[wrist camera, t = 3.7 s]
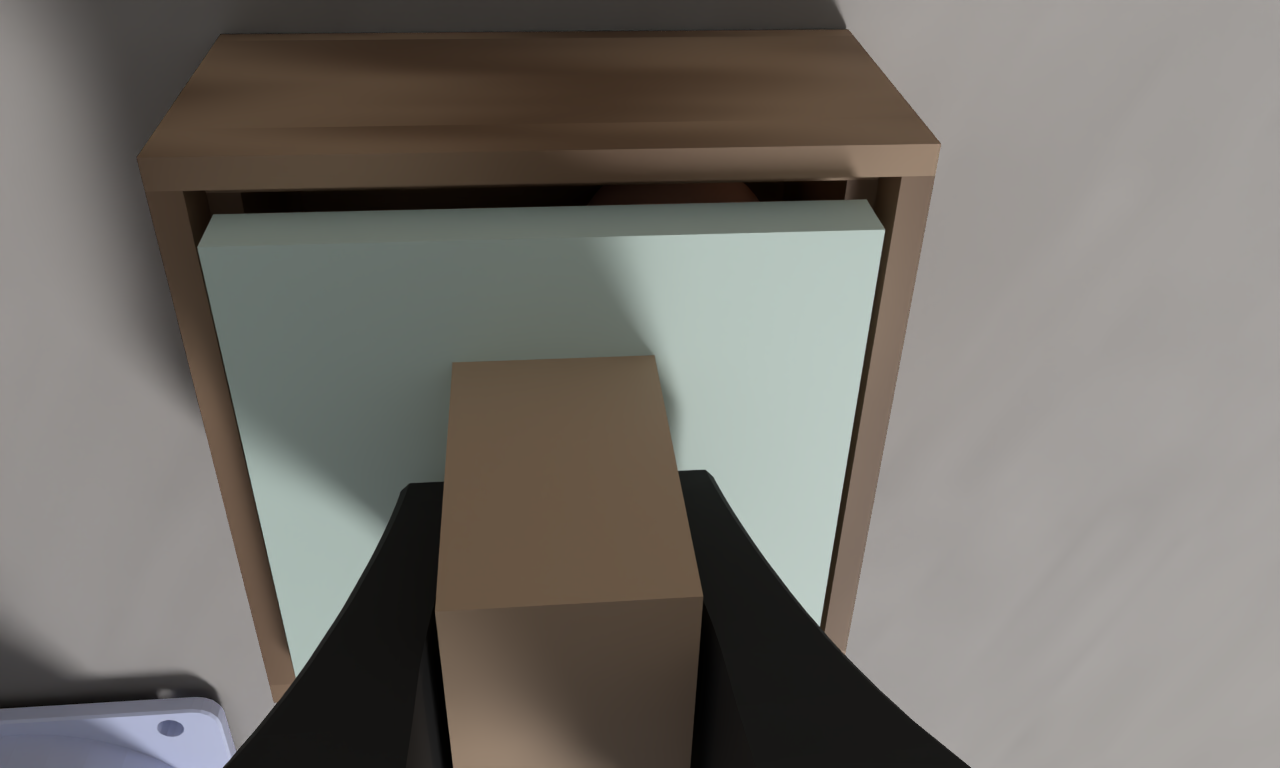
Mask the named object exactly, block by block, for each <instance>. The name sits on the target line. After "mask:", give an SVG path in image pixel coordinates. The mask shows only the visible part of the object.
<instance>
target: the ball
mask: <svg viewBox="0 0 1280 768" xmlns="http://www.w3.org/2000/svg"><path fill="white" fill-rule="evenodd" d="M731 202H759V200H758V198H757V197H756V196H755V194H754V193H753V192H752V191H751V190H750V189H749V187H748V186H746V185H745V184H744V183H743V182H730V183H680V184H631V185H603V186H602V187H601V188H600V189H599V190H598V191H597V192H596V194H595V195H594V196H593V198H592V199H591V200H590V202H589V203H588V205H587V206H600V205H644V204H687V203H731Z"/></svg>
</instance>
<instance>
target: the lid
mask: <svg viewBox="0 0 1280 768" xmlns="http://www.w3.org/2000/svg"><path fill="white" fill-rule="evenodd" d="M884 234H885V229H884V227H883V225H882V224H881V222H880V220H879V219H878V217H877V216H876V214H875V212H874V211H873V209H872V208H871V206H870V204H869V203H868V201H867V199H862V200H818V201H775V202H731V203H687V204H644V205H600V206H556V207H513V208H469V209H425V210H382V211H338V212H295V213H251V214H213V216H212V218H211V220H210V222H209V224H208V226H207V228H206V230H205V232H204V234H203V236H202V239H201V241H200V243H199V245H198V247H197V248H198V253H199V257H200V261H201V266H202V270H203V275H204V279H205V283H206V288H207V292H208V296H209V301H210V305H211V309H212V314H213V318H214V323H215V327H216V331H217V336H218V340H219V344H220V349H221V353H222V358H223V362H224V366H225V371H226V375H227V379H228V384H229V388H230V393H231V397H232V401H233V406H234V410H235V414H236V419H237V423H238V427H239V432H240V436H241V441H242V445H243V449H244V454H245V458H246V462H247V467H248V471H249V476H250V480H251V484H252V489H253V493H254V497H255V502H256V506H257V510H258V515H259V519H260V524H261V528H262V532H263V537H264V541H265V545H266V550H267V554H268V559H269V563H270V567H271V572H272V576H273V580H274V585H275V589H276V593H277V598H278V602H279V607H280V611H281V615H282V620H283V624H284V628H285V633H286V637H287V642H288V646H289V650H290V655H291V659H292V663H293V668H294V672H295V676H296V677H297V676H298V674H299V673H300V672H301V670H302V669H303V667H304V666H305V665H306V663H307V662H308V660H309V659H310V657H311V656H312V654H313V653H314V651H315V650H316V648H317V647H318V645H319V643H320V642H321V640H322V639H323V637H324V636H325V634H326V633H327V631H328V630H329V628H330V627H331V625H332V624H333V622H334V621H335V619H336V618H337V616H338V614H339V613H340V611H341V610H342V608H343V606H344V605H345V603H346V601H347V599H348V598H349V596H350V594H351V592H352V591H353V589H354V587H355V585H356V584H357V582H358V580H359V578H360V577H361V575H362V573H363V571H364V569H365V568H366V566H367V564H368V562H369V560H370V558H371V557H372V555H373V553H374V551H375V549H376V547H377V545H378V543H379V541H380V539H381V537H382V535H383V533H384V531H385V528H386V526H387V524H388V522H389V520H390V517H391V515H392V513H393V510H394V508H395V506H396V503H397V500H398V497H399V495H400V492H401V490H402V489H404V488H405V487H406V486H407V485H408V484H409V483H422V482H444V491H443V505H442V519H441V534H440V548H439V562H438V576H437V591H436V605H435V616H436V624H437V633H438V641H439V650H440V659H441V667H442V676H443V684H444V693H445V701H446V710H447V718H448V727H449V736H450V744H451V753H452V761H453V768H690V763H691V750H692V737H693V724H694V711H695V698H696V685H697V672H698V659H699V646H700V633H701V620H702V607H703V592H702V587H701V582H700V577H699V572H698V568H697V563H696V558H695V553H694V548H693V543H692V538H691V533H690V528H689V523H688V518H687V513H686V508H685V503H684V498H683V493H682V488H681V483H680V479H679V474H678V471H684V470H706V471H708V472H709V473H710V474H711V475H712V476H713V477H714V479H715V481H716V483H717V484H718V486H719V488H720V490H721V491H722V493H723V495H724V497H725V498H726V500H727V502H728V503H729V505H730V507H731V508H732V510H733V511H734V513H735V515H736V516H737V518H738V519H739V521H740V522H741V524H742V525H743V527H744V528H745V530H746V531H747V533H748V534H749V536H750V537H751V539H752V540H753V542H754V543H755V545H756V546H757V547H758V549H759V550H760V552H761V553H762V554H763V556H764V557H765V559H766V560H767V561H768V563H769V564H770V565H771V567H772V568H773V569H774V571H775V572H776V573H777V575H778V576H779V577H780V578H781V580H782V581H783V582H784V584H785V585H786V586H787V588H788V589H789V590H790V592H791V593H792V594H793V595H794V597H795V598H796V599H797V600H798V602H799V603H800V604H801V605H802V607H803V608H804V609H805V610H806V611H807V613H808V614H809V615H810V616H811V617H812V618H813V620H814V621H815V622H816V623H817V624H818V625H819V627H820V623H821V617H822V611H823V605H824V599H825V593H826V586H827V580H828V574H829V568H830V562H831V556H832V550H833V544H834V538H835V532H836V526H837V520H838V514H839V507H840V501H841V495H842V489H843V483H844V477H845V471H846V465H847V459H848V453H849V447H850V441H851V434H852V428H853V422H854V416H855V410H856V404H857V398H858V392H859V386H860V380H861V374H862V368H863V362H864V355H865V349H866V343H867V337H868V331H869V325H870V319H871V313H872V307H873V301H874V295H875V289H876V282H877V276H878V270H879V264H880V258H881V252H882V246H883V240H884Z"/></svg>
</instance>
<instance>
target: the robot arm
mask: <svg viewBox="0 0 1280 768" xmlns="http://www.w3.org/2000/svg"><path fill="white" fill-rule="evenodd" d="M678 474H679V479H680V483H681V488H682V493H683V498H684V503H685V508H686V513H687V518H688V523H689V528H690V533H691V538H692V543H693V548H694V553H695V558H696V563H697V568H698V572H699V577H700V582H701V587H702V592H703V607H702V620H701V633H700V646H699V659H698V672H697V685H696V698H695V711H694V724H693V737H692V750H691V763H690V768H971V767H970V766H968V765H967V764H966V763H965V762H963V761H962V760H961V759H960V758H958V757H957V756H956V755H955V754H954V753H952V752H951V751H950V750H949V749H947V748H946V747H945V746H944V745H942V744H941V743H940V742H939V741H938V740H936V739H935V738H934V737H933V736H931V735H930V734H929V733H928V732H926V731H925V730H924V729H923V728H921V727H920V726H919V725H918V724H917V723H915V722H914V721H913V720H912V719H911V718H910V717H909V716H907V715H906V714H905V713H904V712H903V711H902V710H901V709H900V708H899V707H898V706H897V705H895V704H894V703H893V702H892V701H891V700H890V699H889V698H888V697H887V696H886V695H885V694H884V693H882V692H881V691H880V690H879V689H878V688H877V687H876V686H875V685H874V684H873V683H872V682H871V681H870V680H869V679H868V678H867V677H866V676H865V675H864V674H863V673H862V672H861V671H860V670H859V669H858V668H857V667H856V666H855V665H854V664H853V663H852V662H851V661H850V660H849V659H848V658H847V657H846V655H845V654H844V653H843V652H842V651H841V650H840V649H839V648H838V647H837V646H836V645H835V644H834V642H833V641H832V640H831V639H830V638H829V637H828V636H827V635H826V634H825V632H824V631H823V630H822V629H821V628H820V627H819V625H818V624H817V623H816V622H815V621H814V620H813V618H812V617H811V616H810V615H809V614H808V613H807V611H806V610H805V609H804V608H803V607H802V605H801V604H800V603H799V602H798V600H797V599H796V598H795V597H794V595H793V594H792V593H791V592H790V590H789V589H788V588H787V586H786V585H785V584H784V582H783V581H782V580H781V578H780V577H779V576H778V575H777V573H776V572H775V571H774V569H773V568H772V567H771V565H770V564H769V563H768V561H767V560H766V559H765V557H764V556H763V554H762V553H761V552H760V550H759V549H758V547H757V546H756V545H755V543H754V542H753V540H752V539H751V537H750V536H749V534H748V533H747V531H746V530H745V528H744V527H743V525H742V524H741V522H740V521H739V519H738V518H737V516H736V515H735V513H734V511H733V510H732V508H731V507H730V505H729V503H728V502H727V500H726V498H725V497H724V495H723V493H722V491H721V490H720V488H719V486H718V484H717V483H716V481H715V479H714V477H713V476H712V475H711V474H710V473H709V472H708V471H706V470H684V471H678ZM443 491H444V482H422V483H409V484H408V485H407V486H406V487H405V488H404V489H402V490H401V492H400V495H399V497H398V500H397V503H396V506H395V508H394V510H393V513H392V515H391V517H390V520H389V522H388V524H387V526H386V528H385V531H384V533H383V535H382V537H381V539H380V541H379V543H378V545H377V547H376V549H375V551H374V553H373V555H372V557H371V558H370V560H369V562H368V564H367V566H366V568H365V569H364V571H363V573H362V575H361V577H360V578H359V580H358V582H357V584H356V585H355V587H354V589H353V591H352V592H351V594H350V596H349V598H348V599H347V601H346V603H345V605H344V606H343V608H342V610H341V611H340V613H339V614H338V616H337V618H336V619H335V621H334V622H333V624H332V625H331V627H330V628H329V630H328V631H327V633H326V634H325V636H324V637H323V639H322V640H321V642H320V643H319V645H318V647H317V648H316V650H315V651H314V653H313V654H312V656H311V657H310V659H309V660H308V662H307V663H306V665H305V666H304V667H303V669H302V670H301V672H300V673H299V674H298V676H297V677H296V678H295V680H294V681H293V683H292V684H291V685H290V687H289V688H288V689H287V691H286V692H285V693H284V695H283V696H282V697H281V699H280V700H279V701H278V702H277V704H276V705H275V706H274V707H273V709H272V710H271V711H270V713H269V714H268V715H267V716H266V718H265V719H264V720H263V721H262V723H261V724H260V725H259V726H258V727H257V729H256V730H255V731H254V732H253V733H252V735H251V736H250V737H249V738H248V739H247V740H246V741H245V743H244V744H243V745H242V746H241V747H240V748H239V749H238V751H237V752H236V749H235V746H234V743H233V739H232V736H231V732H230V729H229V725H228V722H227V719H226V715H225V712H224V710H223V708H222V707H221V705H219V704H218V703H216V702H215V701H214V700H211V699H208V698H205V697H185V698H169V699H152V700H136V701H119V702H103V703H86V704H70V705H54V706H37V707H21V708H4V709H0V768H453V761H452V753H451V744H450V736H449V727H448V718H447V710H446V701H445V693H444V684H443V676H442V667H441V659H440V650H439V641H438V633H437V624H436V616H435V605H436V591H437V576H438V562H439V548H440V534H441V519H442V505H443Z"/></svg>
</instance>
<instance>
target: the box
mask: <svg viewBox="0 0 1280 768" xmlns="http://www.w3.org/2000/svg"><path fill="white" fill-rule="evenodd" d="M940 146H941V143H940V142H939V141H938V140H937V138H936V137H935V136H934V135H933V133H932V132H931V131H930V130H929V128H928V127H927V126H926V125H925V123H924V122H923V121H922V120H921V119H920V117H919V116H918V115H917V114H916V112H915V111H914V110H913V109H912V107H911V106H910V105H909V104H908V102H907V101H906V100H905V99H904V98H903V96H902V95H901V94H900V93H899V91H898V90H897V89H896V88H895V86H894V85H893V84H892V83H891V82H890V80H889V79H888V78H887V77H886V75H885V74H884V73H883V72H882V70H881V69H880V68H879V67H878V65H877V64H876V63H875V62H874V61H873V59H872V58H871V57H870V56H869V54H868V53H867V52H866V51H865V49H864V48H863V47H862V46H861V45H860V43H859V42H858V41H857V40H856V38H855V37H854V36H853V35H852V33H851V32H850V31H849V30H848V29H841V30H706V31H571V32H436V33H301V34H220V36H219V37H218V39H217V40H216V42H215V43H214V45H213V46H212V47H211V49H210V50H209V52H208V53H207V55H206V56H205V58H204V59H203V61H202V62H201V64H200V65H199V67H198V68H197V69H196V71H195V72H194V74H193V75H192V77H191V78H190V80H189V81H188V83H187V84H186V86H185V87H184V89H183V90H182V92H181V93H180V94H179V96H178V97H177V99H176V100H175V102H174V103H173V105H172V106H171V108H170V109H169V111H168V112H167V114H166V115H165V117H164V118H163V119H162V121H161V122H160V124H159V125H158V127H157V128H156V130H155V131H154V133H153V134H152V136H151V137H150V139H149V140H148V142H147V143H146V144H145V146H144V147H143V149H142V150H141V152H140V153H139V155H138V156H137V162H138V166H139V170H140V174H141V178H142V182H143V186H144V190H145V194H146V197H147V201H148V205H149V209H150V213H151V217H152V221H153V225H154V229H155V233H156V237H157V241H158V245H159V249H160V253H161V257H162V261H163V265H164V269H165V273H166V277H167V281H168V285H169V289H170V293H171V297H172V300H173V304H174V308H175V312H176V316H177V320H178V324H179V328H180V332H181V336H182V340H183V344H184V348H185V352H186V356H187V360H188V364H189V368H190V372H191V376H192V380H193V384H194V388H195V392H196V396H197V399H198V403H199V407H200V411H201V415H202V419H203V423H204V427H205V431H206V435H207V439H208V443H209V447H210V451H211V455H212V459H213V463H214V467H215V471H216V475H217V479H218V483H219V487H220V491H221V495H222V499H223V502H224V506H225V510H226V514H227V518H228V522H229V526H230V530H231V534H232V538H233V542H234V546H235V550H236V554H237V558H238V562H239V566H240V570H241V574H242V578H243V582H244V586H245V590H246V594H247V598H248V601H249V605H250V609H251V613H252V617H253V621H254V625H255V629H256V633H257V637H258V641H259V645H260V649H261V653H262V657H263V661H264V665H265V669H266V673H267V677H268V681H269V685H270V689H271V693H272V697H273V701H274V703H276V702H278V701H279V700H280V699H281V697H282V696H283V695H284V693H285V692H286V691H287V689H288V688H289V687H290V685H291V684H292V683H293V681H294V680H295V678H296V676H295V672H294V668H293V663H292V659H291V655H290V650H289V646H288V642H287V637H286V633H285V628H284V624H283V620H282V615H281V611H280V607H279V602H278V598H277V593H276V589H275V585H274V580H273V576H272V572H271V567H270V563H269V559H268V554H267V550H266V545H265V541H264V537H263V532H262V528H261V524H260V519H259V515H258V510H257V506H256V502H255V497H254V493H253V489H252V484H251V480H250V476H249V471H248V467H247V462H246V458H245V454H244V449H243V445H242V441H241V436H240V432H239V427H238V423H237V419H236V414H235V410H234V406H233V401H232V397H231V393H230V388H229V384H228V379H227V375H226V371H225V366H224V362H223V358H222V353H221V349H220V344H219V340H218V336H217V331H216V327H215V323H214V318H213V314H212V309H211V305H210V301H209V296H208V292H207V288H206V283H205V279H204V275H203V270H202V266H201V261H200V257H199V253H198V248H197V247H198V245H199V243H200V241H201V239H202V236H203V234H204V232H205V230H206V228H207V226H208V224H209V222H210V220H211V218H212V216H213V214H251V213H295V212H338V211H382V210H425V209H469V208H513V207H556V206H587V205H588V203H589V202H590V200H591V199H592V198H593V196H594V195H595V194H596V192H597V191H598V190H599V189H600V188H601V187H602V186H603V185H631V184H680V183H730V182H743V183H744V184H745V185H746V186H748V187H749V189H750V190H751V191H752V192H753V193H754V194H755V196H756V197H757V198H758V200H759V202H775V201H818V200H862V199H867V201H868V203H869V204H870V206H871V208H872V209H873V211H874V212H875V214H876V216H877V217H878V219H879V220H880V222H881V224H882V225H883V227H884V229H885V234H884V240H883V246H882V252H881V258H880V264H879V270H878V276H877V282H876V289H875V295H874V301H873V307H872V313H871V319H870V325H869V331H868V337H867V343H866V349H865V355H864V362H863V368H862V374H861V380H860V386H859V392H858V398H857V404H856V410H855V416H854V422H853V428H852V434H851V441H850V447H849V453H848V459H847V465H846V471H845V477H844V483H843V489H842V495H841V501H840V507H839V514H838V520H837V526H836V532H835V538H834V544H833V550H832V556H831V562H830V568H829V574H828V580H827V586H826V593H825V599H824V605H823V611H822V617H821V623H820V628H821V629H822V630H823V631H824V632H825V634H826V635H827V636H828V637H829V638H830V639H831V640H832V641H833V642H834V644H835V645H836V646H837V647H838V648H839V649H840V650H841V651H842V652H843V653H844V654H845V652H846V647H847V641H848V636H849V631H850V625H851V620H852V615H853V610H854V604H855V599H856V594H857V588H858V583H859V578H860V572H861V567H862V562H863V556H864V551H865V546H866V540H867V535H868V530H869V524H870V519H871V514H872V508H873V503H874V498H875V492H876V487H877V482H878V476H879V471H880V466H881V460H882V455H883V450H884V445H885V439H886V434H887V429H888V423H889V418H890V413H891V407H892V402H893V397H894V391H895V386H896V381H897V375H898V370H899V365H900V359H901V354H902V349H903V343H904V338H905V333H906V327H907V322H908V317H909V311H910V306H911V301H912V295H913V290H914V285H915V280H916V274H917V269H918V264H919V258H920V253H921V248H922V242H923V237H924V232H925V226H926V221H927V216H928V210H929V205H930V200H931V194H932V189H933V184H934V178H935V173H936V168H937V162H938V157H939V152H940Z"/></svg>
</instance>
